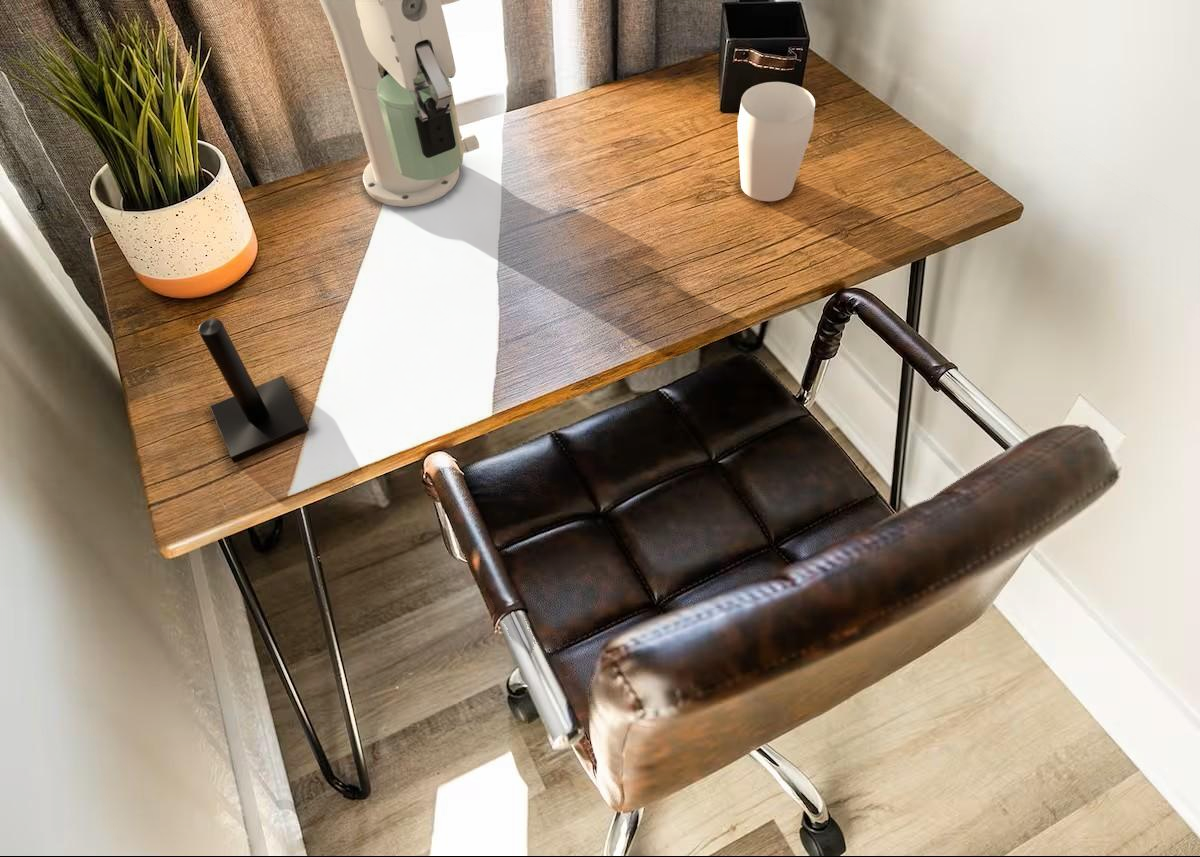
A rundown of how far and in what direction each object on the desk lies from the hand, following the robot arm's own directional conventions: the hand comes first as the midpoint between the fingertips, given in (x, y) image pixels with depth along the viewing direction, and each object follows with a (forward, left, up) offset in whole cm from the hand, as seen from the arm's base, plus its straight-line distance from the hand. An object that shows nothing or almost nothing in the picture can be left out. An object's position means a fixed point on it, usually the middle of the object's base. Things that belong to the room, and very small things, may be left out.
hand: (422, 132), depth 85 cm
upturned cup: (0, 0, -3) cm, 3 cm away
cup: (-43, +1, -23) cm, 49 cm away
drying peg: (+25, +4, -23) cm, 34 cm away
